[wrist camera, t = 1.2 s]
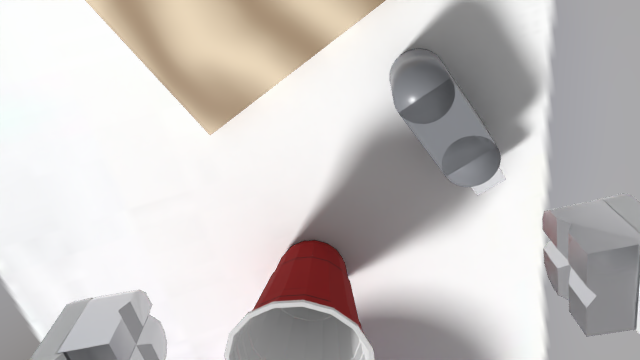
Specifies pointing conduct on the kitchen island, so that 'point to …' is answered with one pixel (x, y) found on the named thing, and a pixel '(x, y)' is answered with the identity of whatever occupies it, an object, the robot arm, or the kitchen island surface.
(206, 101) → the oak board
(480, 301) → the kitchen island surface
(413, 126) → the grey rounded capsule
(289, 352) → the plastic cup
